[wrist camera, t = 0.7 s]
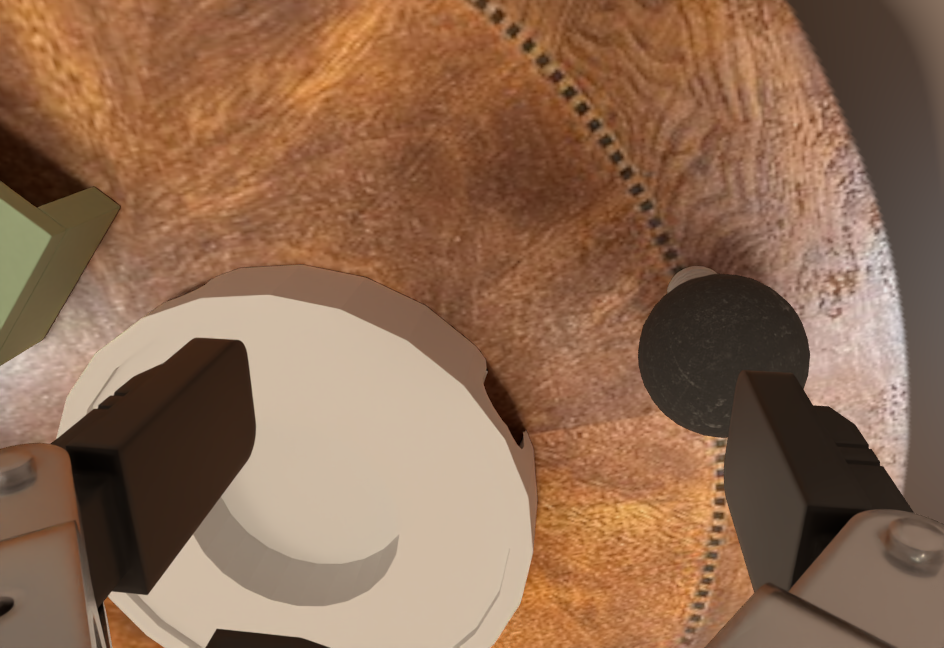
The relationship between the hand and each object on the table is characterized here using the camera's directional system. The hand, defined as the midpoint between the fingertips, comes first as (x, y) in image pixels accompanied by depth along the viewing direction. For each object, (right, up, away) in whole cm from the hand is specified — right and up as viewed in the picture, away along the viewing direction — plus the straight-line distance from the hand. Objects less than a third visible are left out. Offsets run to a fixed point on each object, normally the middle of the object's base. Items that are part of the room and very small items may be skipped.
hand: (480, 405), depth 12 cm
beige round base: (-8, -7, +27) cm, 29 cm away
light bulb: (+9, +3, +21) cm, 23 cm away
